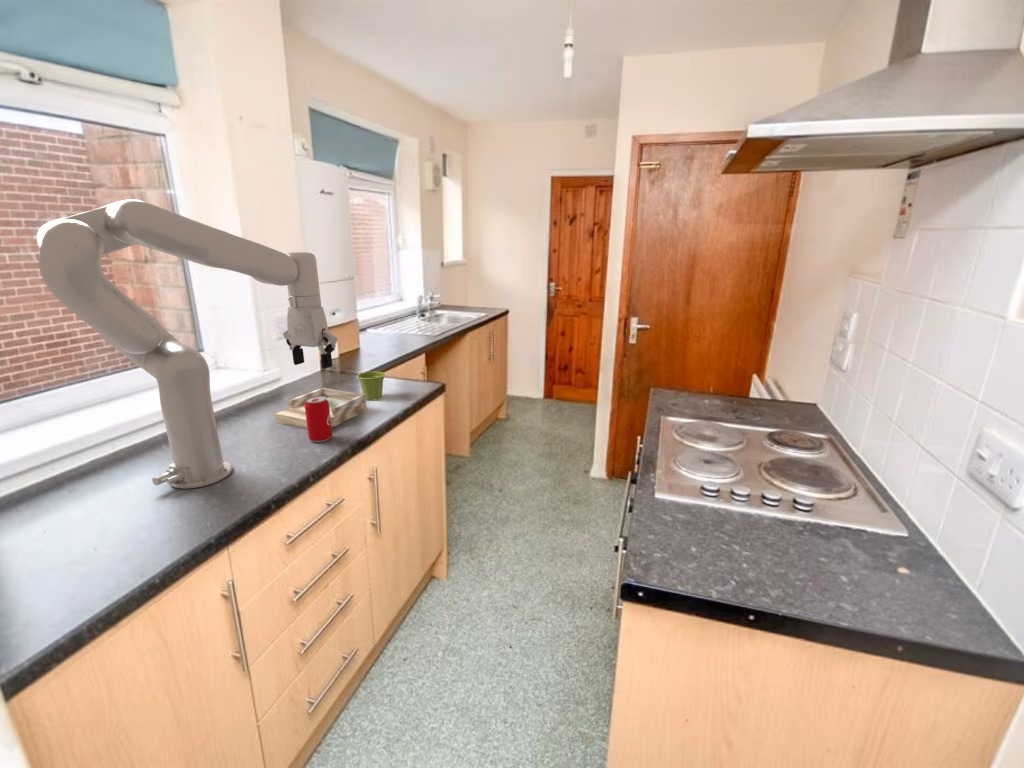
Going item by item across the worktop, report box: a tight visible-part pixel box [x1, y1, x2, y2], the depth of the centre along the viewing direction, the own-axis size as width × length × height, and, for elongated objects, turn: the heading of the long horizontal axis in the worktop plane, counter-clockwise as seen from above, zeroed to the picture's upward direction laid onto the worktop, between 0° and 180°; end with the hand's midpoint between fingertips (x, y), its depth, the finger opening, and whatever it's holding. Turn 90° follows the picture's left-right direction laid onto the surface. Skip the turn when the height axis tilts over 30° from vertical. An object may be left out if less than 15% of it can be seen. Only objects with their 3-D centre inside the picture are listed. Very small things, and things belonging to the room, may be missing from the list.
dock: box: [274, 387, 368, 430], centre depth 150 cm, size 20×18×6 cm
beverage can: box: [305, 396, 333, 443], centre depth 132 cm, size 6×6×12 cm
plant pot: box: [356, 370, 386, 401], centre depth 167 cm, size 9×9×9 cm
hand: (313, 365), depth 128 cm, fingers open, 9 cm apart
